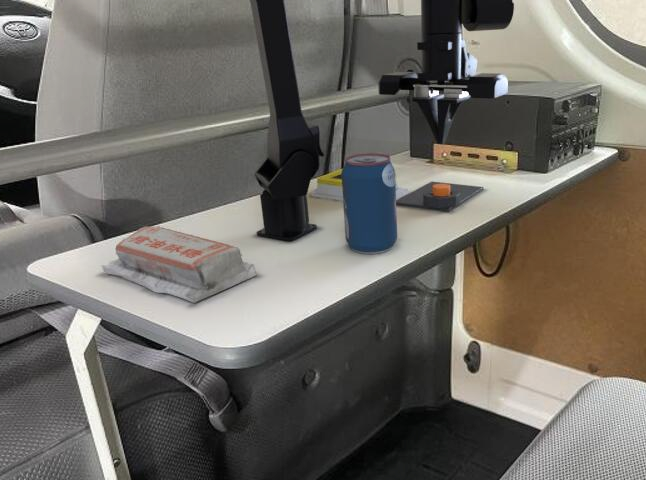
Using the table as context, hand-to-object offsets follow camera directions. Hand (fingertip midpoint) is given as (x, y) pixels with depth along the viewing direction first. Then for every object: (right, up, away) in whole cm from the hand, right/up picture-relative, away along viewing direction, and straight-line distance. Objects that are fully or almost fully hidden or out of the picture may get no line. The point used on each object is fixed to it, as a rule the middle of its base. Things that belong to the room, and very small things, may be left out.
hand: (441, 143), depth 96 cm
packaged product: (-34, -21, -18) cm, 44 cm away
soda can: (-10, -17, -11) cm, 23 cm away
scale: (+1, -7, +9) cm, 11 cm away
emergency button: (-13, -6, +13) cm, 19 cm away
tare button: (0, -7, +3) cm, 8 cm away
